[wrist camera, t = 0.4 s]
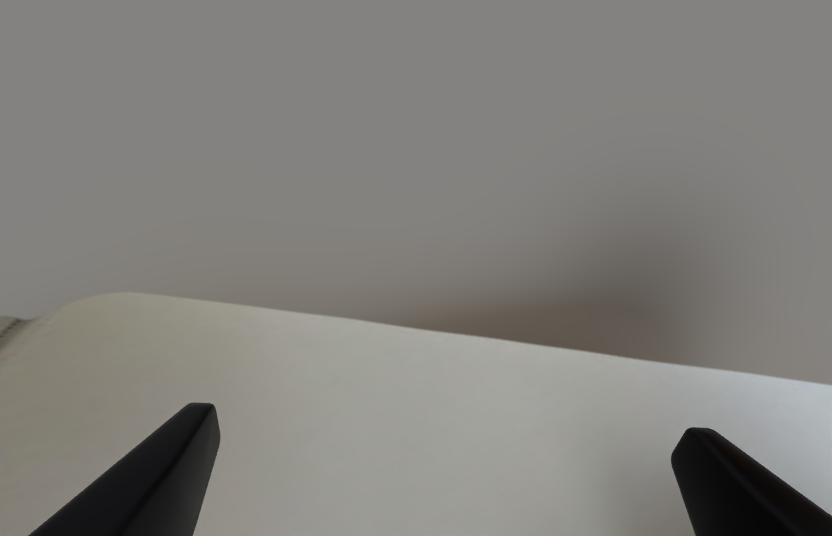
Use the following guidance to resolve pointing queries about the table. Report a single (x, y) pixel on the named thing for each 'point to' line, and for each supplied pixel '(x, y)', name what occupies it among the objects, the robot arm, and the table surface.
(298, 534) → the table surface
